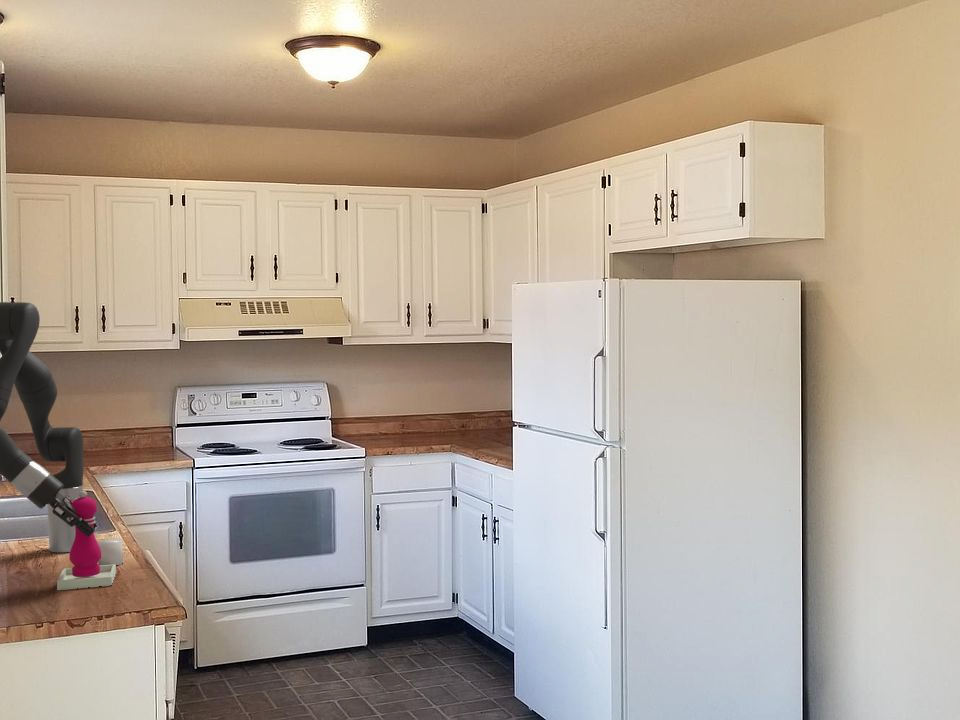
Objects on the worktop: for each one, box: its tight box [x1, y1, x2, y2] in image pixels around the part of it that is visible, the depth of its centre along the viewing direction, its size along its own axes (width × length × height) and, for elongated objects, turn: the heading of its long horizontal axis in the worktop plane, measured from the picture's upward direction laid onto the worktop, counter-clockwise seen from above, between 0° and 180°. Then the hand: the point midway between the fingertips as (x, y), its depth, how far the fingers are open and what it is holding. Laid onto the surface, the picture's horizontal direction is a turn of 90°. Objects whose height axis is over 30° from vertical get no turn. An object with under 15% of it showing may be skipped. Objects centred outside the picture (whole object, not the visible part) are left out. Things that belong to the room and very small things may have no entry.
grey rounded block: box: [97, 538, 124, 566], centre depth 274 cm, size 6×6×6 cm
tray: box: [56, 564, 117, 591], centre depth 257 cm, size 13×12×2 cm
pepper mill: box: [68, 490, 102, 577], centre depth 256 cm, size 7×7×20 cm
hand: (92, 531), depth 257 cm, fingers open, 5 cm apart
